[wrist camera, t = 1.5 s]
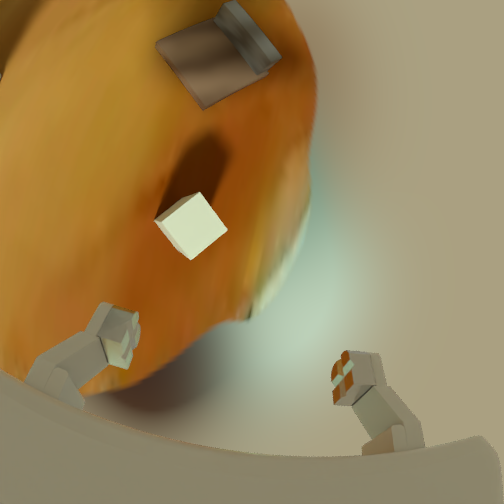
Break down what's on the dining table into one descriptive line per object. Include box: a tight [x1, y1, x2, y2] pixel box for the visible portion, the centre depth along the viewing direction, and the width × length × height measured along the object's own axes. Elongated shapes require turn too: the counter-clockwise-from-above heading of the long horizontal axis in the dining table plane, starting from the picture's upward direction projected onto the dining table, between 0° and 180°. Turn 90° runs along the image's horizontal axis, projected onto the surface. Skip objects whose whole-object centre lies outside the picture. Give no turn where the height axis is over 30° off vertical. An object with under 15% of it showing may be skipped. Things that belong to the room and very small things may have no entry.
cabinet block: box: [154, 192, 227, 260], centre depth 31 cm, size 4×4×10 cm
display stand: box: [155, 0, 282, 110], centre depth 31 cm, size 12×11×6 cm
